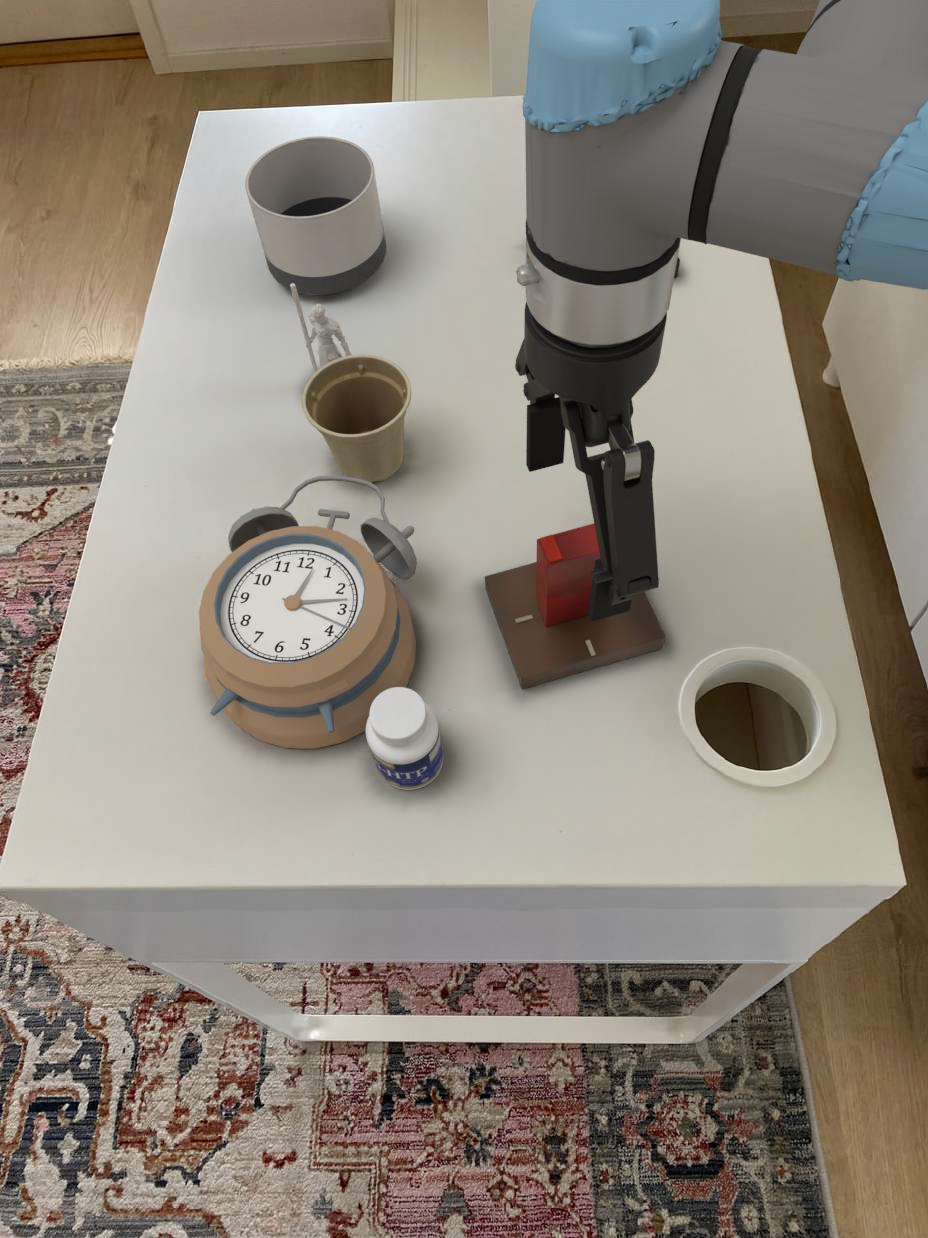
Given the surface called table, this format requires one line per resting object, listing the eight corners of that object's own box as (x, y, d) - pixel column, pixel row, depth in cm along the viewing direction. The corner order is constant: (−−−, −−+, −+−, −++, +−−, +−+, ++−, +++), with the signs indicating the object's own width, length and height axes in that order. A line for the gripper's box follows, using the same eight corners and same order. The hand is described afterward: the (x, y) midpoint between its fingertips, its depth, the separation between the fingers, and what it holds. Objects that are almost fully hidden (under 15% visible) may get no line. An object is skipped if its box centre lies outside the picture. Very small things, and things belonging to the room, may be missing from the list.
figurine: (301, 397, 92) (272, 300, 82) (328, 361, 94) (303, 262, 84) (347, 413, 91) (324, 316, 80) (373, 376, 93) (353, 277, 83)
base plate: (618, 551, 81) (620, 536, 79) (662, 648, 76) (666, 635, 74) (485, 588, 80) (484, 575, 78) (521, 689, 75) (521, 677, 73)
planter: (247, 264, 103) (219, 177, 93) (339, 208, 106) (321, 120, 97) (317, 322, 97) (295, 236, 88) (412, 262, 101) (400, 174, 92)
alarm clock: (142, 684, 67) (237, 436, 78) (184, 735, 75) (264, 503, 86) (375, 717, 64) (438, 456, 76) (392, 766, 72) (447, 523, 84)
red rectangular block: (599, 583, 77) (607, 517, 69) (610, 608, 76) (619, 543, 68) (535, 601, 77) (536, 536, 69) (545, 627, 75) (547, 564, 67)
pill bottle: (370, 787, 72) (351, 743, 64) (383, 724, 74) (366, 674, 67) (439, 795, 71) (428, 751, 63) (449, 731, 74) (440, 681, 66)
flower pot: (410, 504, 85) (399, 440, 77) (310, 494, 86) (289, 431, 79) (429, 424, 90) (420, 357, 82) (333, 417, 91) (315, 350, 83)
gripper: (461, 176, 55) (475, 421, 73) (613, 502, 43) (585, 698, 61) (582, 148, 56) (566, 398, 74) (766, 461, 44) (693, 667, 62)
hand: (575, 534), depth 68 cm, fingers open, 13 cm apart
